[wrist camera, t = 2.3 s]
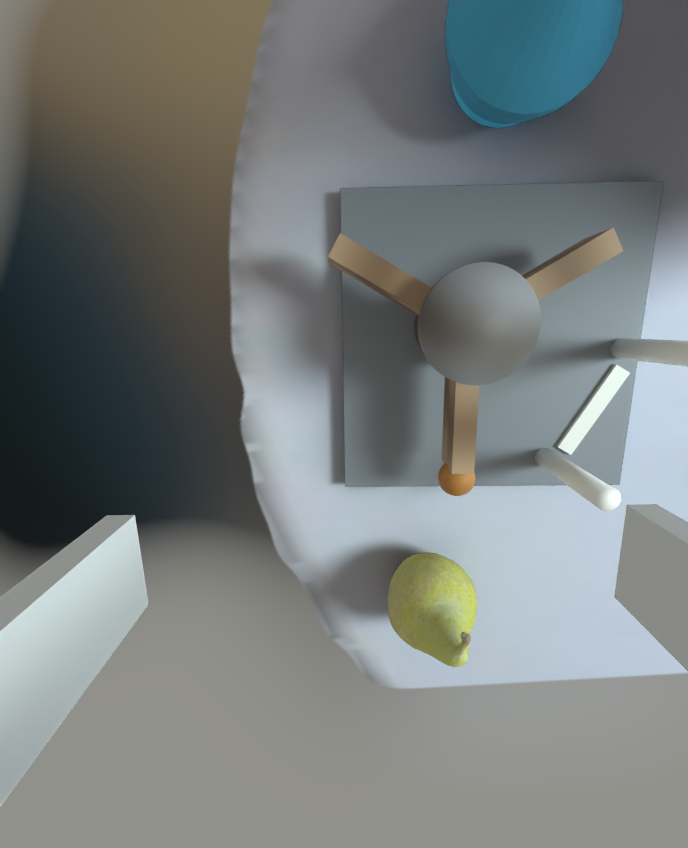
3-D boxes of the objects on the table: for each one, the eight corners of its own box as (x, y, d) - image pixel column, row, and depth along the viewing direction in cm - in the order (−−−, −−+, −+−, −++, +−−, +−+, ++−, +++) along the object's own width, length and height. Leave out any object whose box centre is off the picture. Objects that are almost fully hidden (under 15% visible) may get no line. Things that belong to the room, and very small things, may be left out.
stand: (340, 192, 28) (335, 131, 19) (652, 186, 28) (792, 120, 19) (345, 482, 33) (342, 538, 24) (611, 480, 32) (707, 536, 24)
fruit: (383, 609, 36) (399, 747, 24) (384, 530, 34) (402, 636, 22) (461, 610, 35) (515, 748, 24) (466, 529, 34) (527, 637, 22)
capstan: (331, 249, 28) (325, 225, 21) (577, 245, 27) (650, 218, 21) (336, 477, 31) (332, 517, 25) (553, 475, 31) (608, 515, 24)
